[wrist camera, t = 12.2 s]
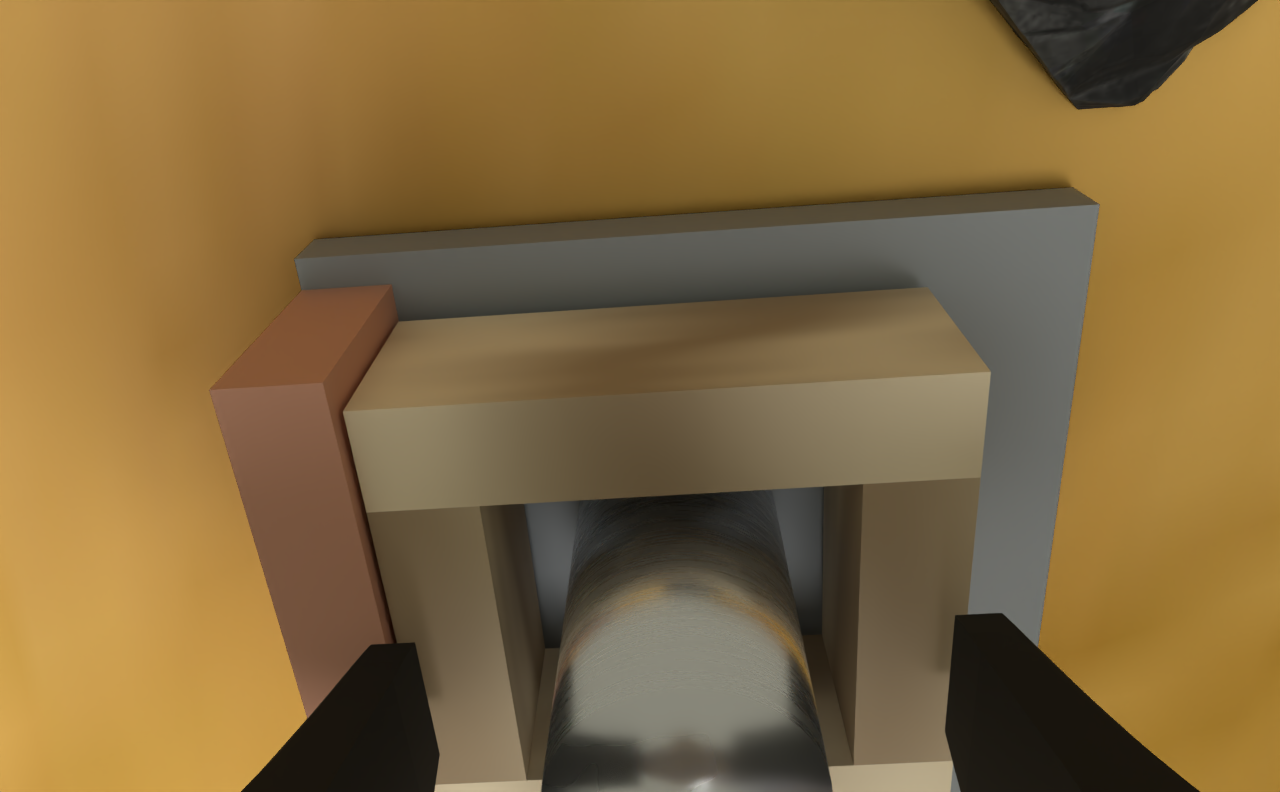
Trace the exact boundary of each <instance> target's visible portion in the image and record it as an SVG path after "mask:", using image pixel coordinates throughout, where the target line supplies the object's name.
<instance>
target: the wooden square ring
mask: <svg viewBox="0 0 1280 792" xmlns="http://www.w3.org/2000/svg"><path fill="white" fill-rule="evenodd" d="M990 377H991V371H990V370H989V368H988V367H987V366H986V364H985V363H984V362H983V360H982V359H981V358H980V356H979V355H978V354H977V352H976V351H975V350H974V348H973V347H972V346H971V344H970V343H969V342H968V340H967V339H966V338H965V336H964V335H963V334H962V332H961V331H960V330H959V328H958V327H957V326H956V324H955V323H954V322H953V320H952V319H951V318H950V316H949V315H948V314H947V312H946V311H945V310H944V308H943V307H942V306H941V304H940V303H939V302H938V300H937V299H936V298H935V296H934V295H933V294H932V292H931V291H930V290H929V288H928V287H922V288H906V289H891V290H876V291H860V292H845V293H830V294H814V295H799V296H783V297H768V298H753V299H737V300H722V301H707V302H691V303H676V304H661V305H645V306H630V307H614V308H599V309H584V310H568V311H553V312H538V313H522V314H507V315H492V316H476V317H461V318H446V319H430V320H415V321H399V322H398V323H397V325H396V326H395V328H394V329H393V331H392V333H391V334H390V336H389V338H388V339H387V341H386V342H385V344H384V346H383V347H382V349H381V350H380V352H379V354H378V355H377V357H376V359H375V360H374V362H373V363H372V365H371V367H370V368H369V370H368V372H367V373H366V375H365V376H364V378H363V380H362V381H361V383H360V385H359V386H358V388H357V389H356V391H355V393H354V394H353V396H352V397H351V399H350V401H349V402H348V404H347V406H346V407H345V409H344V410H343V415H344V419H345V423H346V428H347V432H348V436H349V440H350V445H351V449H352V453H353V457H354V462H355V466H356V470H357V475H358V479H359V483H360V487H361V492H362V496H363V500H364V504H365V509H366V513H367V517H368V522H369V526H370V530H371V534H372V539H373V543H374V547H375V551H376V556H377V560H378V564H379V569H380V573H381V577H382V581H383V586H384V590H385V594H386V598H387V603H388V607H389V611H390V615H391V620H392V624H393V628H394V633H395V637H396V641H397V643H412V642H415V645H416V649H417V654H418V658H419V663H420V667H421V672H422V676H423V681H424V685H425V690H426V694H427V699H428V703H429V708H430V712H431V717H432V721H433V726H434V730H435V735H436V739H437V744H438V748H439V753H440V757H439V764H438V770H437V777H436V784H435V791H434V792H541V787H542V779H543V771H544V764H545V756H546V749H547V741H548V734H549V726H550V719H551V711H552V704H553V696H554V689H555V681H556V674H557V666H558V659H559V651H560V648H547V649H545V644H544V637H543V630H542V623H541V617H540V610H539V603H538V596H537V590H536V583H535V576H534V569H533V563H532V556H531V549H530V542H529V536H528V529H527V522H526V515H525V509H524V504H526V503H544V502H561V501H579V500H596V499H614V498H631V497H648V496H666V495H683V494H701V493H718V492H736V491H753V490H771V489H788V488H805V487H823V486H824V520H823V595H822V634H819V635H802V639H803V644H804V648H805V653H806V658H807V663H808V668H809V673H810V678H811V683H812V688H813V693H814V698H815V703H816V708H817V713H818V717H819V722H820V727H821V732H822V737H823V742H824V747H825V752H826V757H827V762H828V767H829V772H830V777H831V782H832V790H833V792H950V791H951V781H952V770H953V761H952V758H951V754H950V750H949V746H948V742H947V738H946V734H945V723H946V711H947V700H948V689H949V677H950V666H951V655H952V644H953V632H954V621H955V615H967V614H968V604H969V594H970V584H971V573H972V563H973V553H974V542H975V532H976V522H977V511H978V501H979V491H980V480H981V470H982V459H983V449H984V439H985V428H986V418H987V408H988V397H989V387H990Z"/></svg>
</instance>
